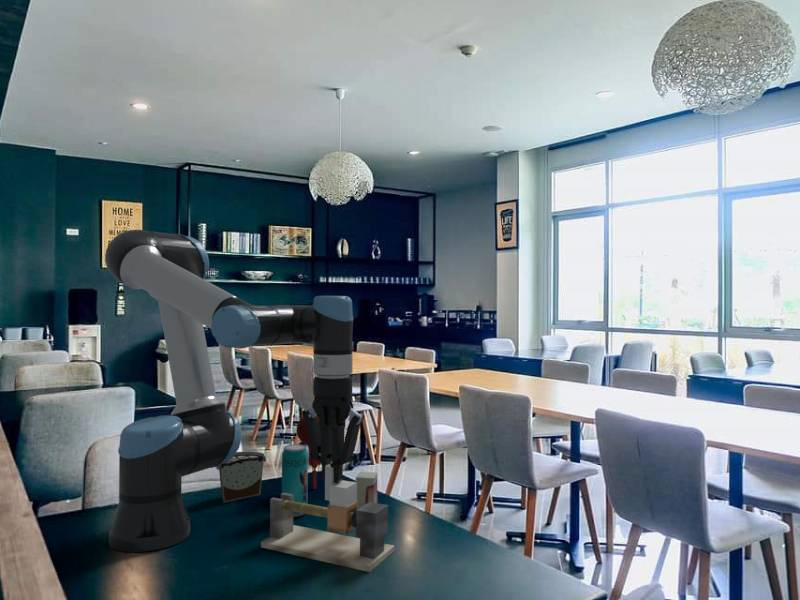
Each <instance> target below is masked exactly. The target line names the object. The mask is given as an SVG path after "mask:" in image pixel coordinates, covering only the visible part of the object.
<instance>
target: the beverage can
mask: <svg viewBox="0 0 800 600" xmlns="http://www.w3.org/2000/svg"><path fill="white" fill-rule="evenodd" d="M307 447H308V446H307V445H305V444H299V443H295V444H287V445H284V446H283V450H282V453H281V494H282V493H289V494H293V501H294V502H299V503H305V504H309V502H308V493H309V492H308V491H309V490H308V487H309V486H308V485H309V484H308V483H309V481H308V480H309V479H308V477H309V473H308V472H309V471H308V470H309V464H308V460H309V451H308V450H307V449H308V448H307ZM304 515H305V513H300V512H295V511H293V518H297V517H302V516H304Z"/></svg>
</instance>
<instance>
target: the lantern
mask: <svg viewBox="0 0 800 600" xmlns="http://www.w3.org/2000/svg"><path fill="white" fill-rule="evenodd" d="M316 376H317V375H315V374H314V377H316ZM317 418H318V416H317ZM318 422H319V418H318ZM320 433H321V429H320ZM296 435H297V438H298V439H299V440H300V441H301V442H302V443H303V444H304V445H305V444H306V447H308V448H307V449H308V466H311V468H312V469H313V470H312V474H311V489H312V490H317V489H318V471H317V470H316V468H318V467H319V466H321V465H322V464H321V462H319V461H318V460H314V459H313V456H312V451H311V446H310V441H309V435H308V430H307V425H306V421H305V419H304V418H303V416H301V417H300V419H299V421H298V422H297V426H296Z"/></svg>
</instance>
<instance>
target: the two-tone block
mask: <svg viewBox="0 0 800 600" xmlns="http://www.w3.org/2000/svg"><path fill="white" fill-rule="evenodd" d="M327 508H328V518H327V521H326V522H327V524H326V525H327V530H326V532H330V533H335V534H340V535H347V534H349V533H350V532H351V531H354V529H355V530H356V528H354V527H353V526H352V522H348V511H349V512H354V511H355V509H359V501H357V482H356V481H350V480H349V481H348V480H345V479H344V480H343V479H342V481H341V482H339V483H334V484H332V485H330V501H329V504H327Z"/></svg>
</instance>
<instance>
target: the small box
mask: <svg viewBox="0 0 800 600" xmlns="http://www.w3.org/2000/svg"><path fill="white" fill-rule="evenodd" d="M355 482H357V501H359V508H361V507H362V506H364V505H365V504H367V503H369V502H373V503H378V472H373V471H359V473H358V474H357V476H355Z"/></svg>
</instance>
